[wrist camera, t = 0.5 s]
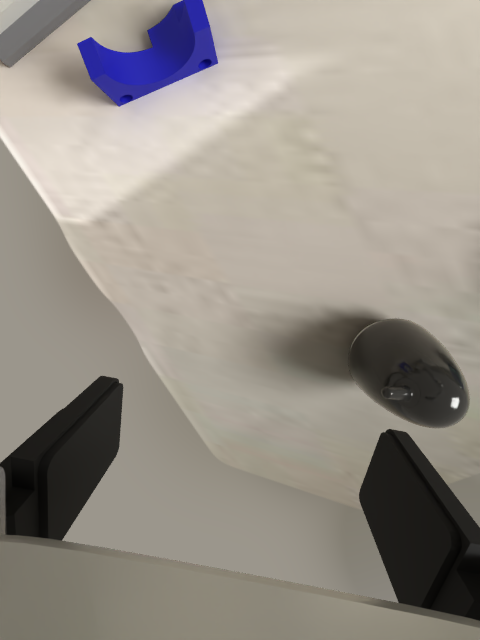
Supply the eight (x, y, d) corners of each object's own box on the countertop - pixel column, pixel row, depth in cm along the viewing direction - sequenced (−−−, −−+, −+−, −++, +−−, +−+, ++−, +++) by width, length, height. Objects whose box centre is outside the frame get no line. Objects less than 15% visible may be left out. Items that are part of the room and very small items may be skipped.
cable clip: (204, 15, 31) (191, -36, 25) (218, 64, 32) (209, 26, 26) (103, 62, 32) (69, 24, 27) (119, 107, 33) (91, 80, 28)
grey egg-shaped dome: (352, 302, 38) (412, 344, 23) (430, 320, 38) (539, 373, 23) (328, 372, 41) (368, 448, 26) (401, 389, 41) (481, 474, 26)
